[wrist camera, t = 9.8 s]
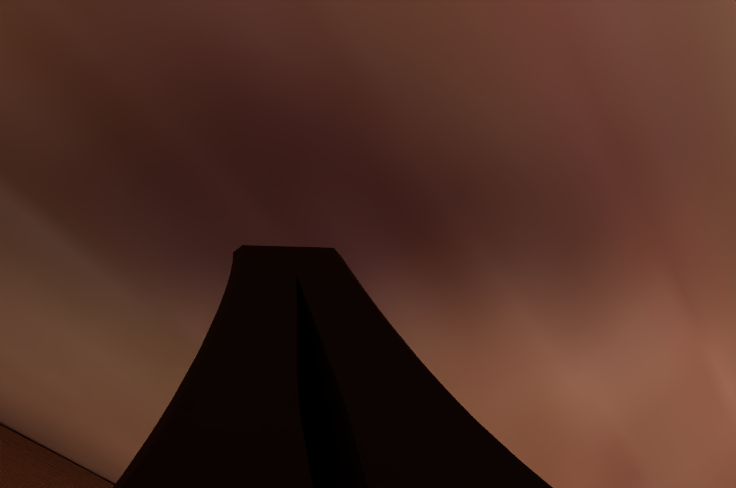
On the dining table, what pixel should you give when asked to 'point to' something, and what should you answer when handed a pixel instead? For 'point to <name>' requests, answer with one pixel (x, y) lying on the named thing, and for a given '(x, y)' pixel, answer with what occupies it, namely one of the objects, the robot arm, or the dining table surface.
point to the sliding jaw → (39, 466)
